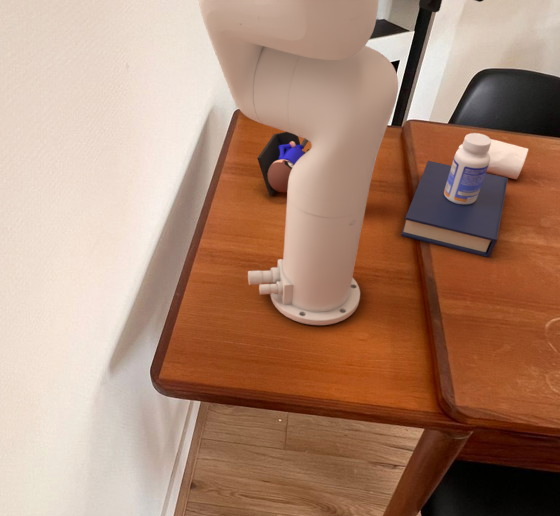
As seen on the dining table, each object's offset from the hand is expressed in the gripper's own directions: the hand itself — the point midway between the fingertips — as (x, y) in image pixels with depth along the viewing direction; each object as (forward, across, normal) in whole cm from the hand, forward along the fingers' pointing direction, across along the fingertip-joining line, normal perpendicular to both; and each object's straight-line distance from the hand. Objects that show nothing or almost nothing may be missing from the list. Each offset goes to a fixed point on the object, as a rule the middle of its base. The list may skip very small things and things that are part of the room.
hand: (451, 4), depth 73 cm
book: (+28, -1, +10) cm, 30 cm away
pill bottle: (+25, -1, +10) cm, 27 cm away
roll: (+28, -19, +4) cm, 34 cm away
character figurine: (+28, +16, -15) cm, 36 cm away
